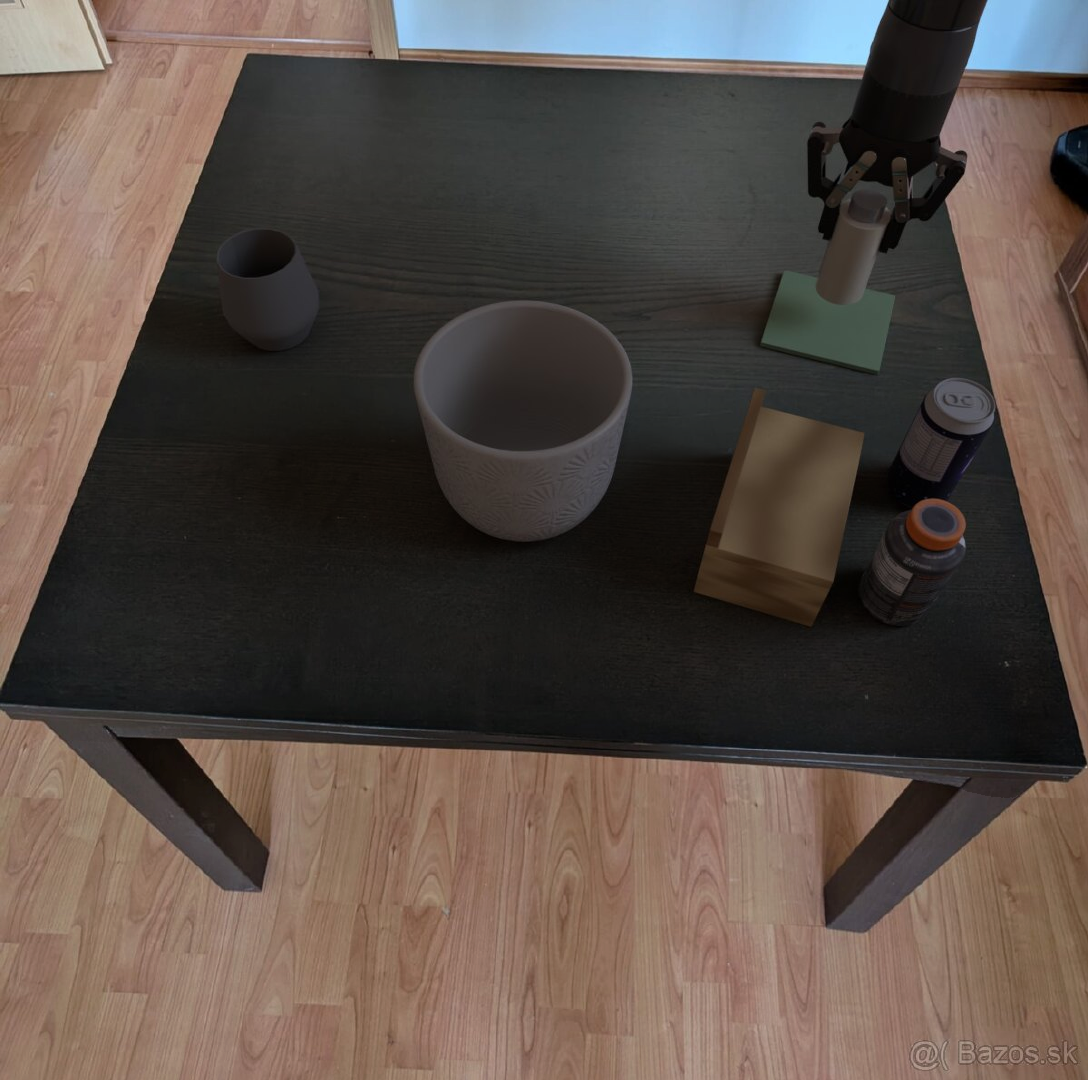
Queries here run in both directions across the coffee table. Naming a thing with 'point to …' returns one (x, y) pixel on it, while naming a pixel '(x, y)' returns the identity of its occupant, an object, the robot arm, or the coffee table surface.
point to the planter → (523, 415)
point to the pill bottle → (913, 562)
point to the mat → (828, 325)
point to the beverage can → (941, 441)
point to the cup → (266, 288)
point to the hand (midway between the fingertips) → (855, 241)
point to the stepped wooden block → (781, 514)
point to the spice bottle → (853, 247)
